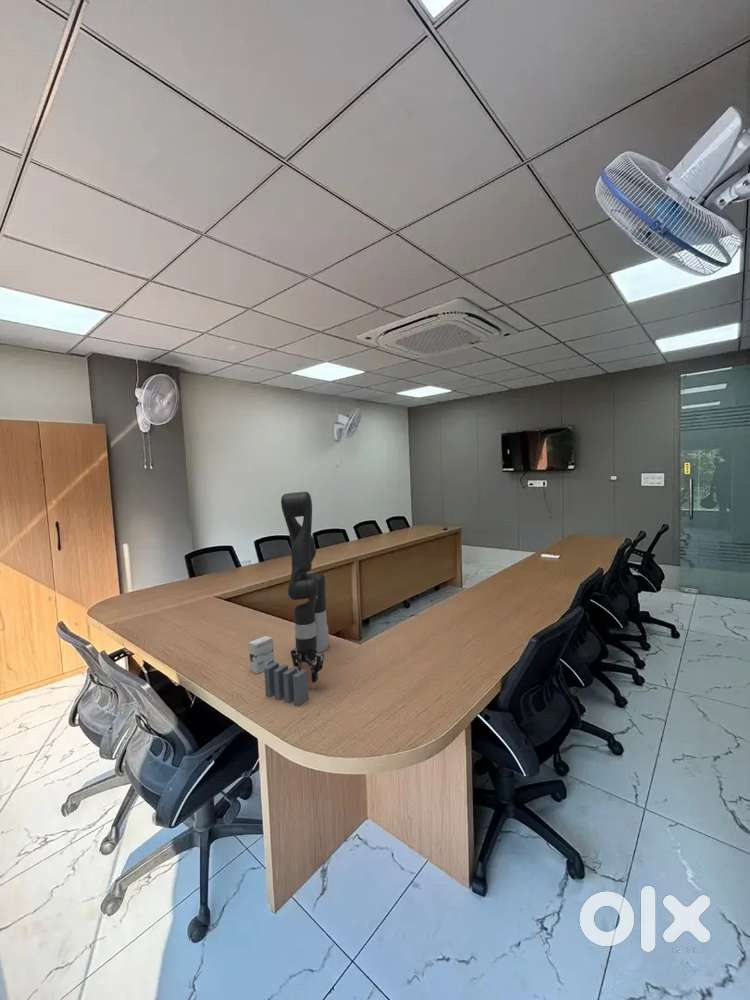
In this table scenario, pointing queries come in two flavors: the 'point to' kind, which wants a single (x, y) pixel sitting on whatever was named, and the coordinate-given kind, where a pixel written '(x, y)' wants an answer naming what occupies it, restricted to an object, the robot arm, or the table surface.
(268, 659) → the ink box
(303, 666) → the domino
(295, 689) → the domino
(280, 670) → the domino
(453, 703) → the table surface
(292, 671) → the domino
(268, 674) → the domino
